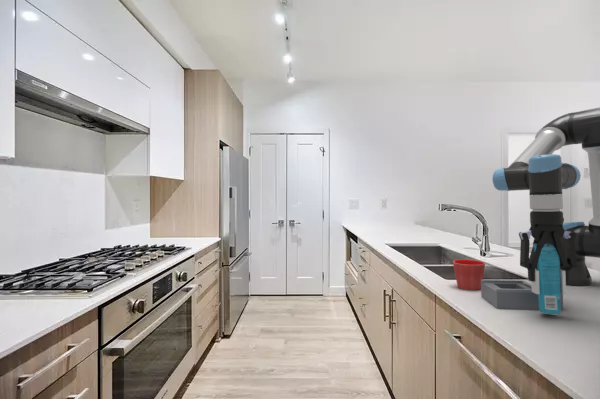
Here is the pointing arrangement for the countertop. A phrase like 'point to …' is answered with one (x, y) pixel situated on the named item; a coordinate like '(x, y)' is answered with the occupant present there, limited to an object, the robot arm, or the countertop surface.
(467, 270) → the flower pot
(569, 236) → the robot arm
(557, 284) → the tube
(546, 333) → the countertop surface
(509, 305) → the socket
